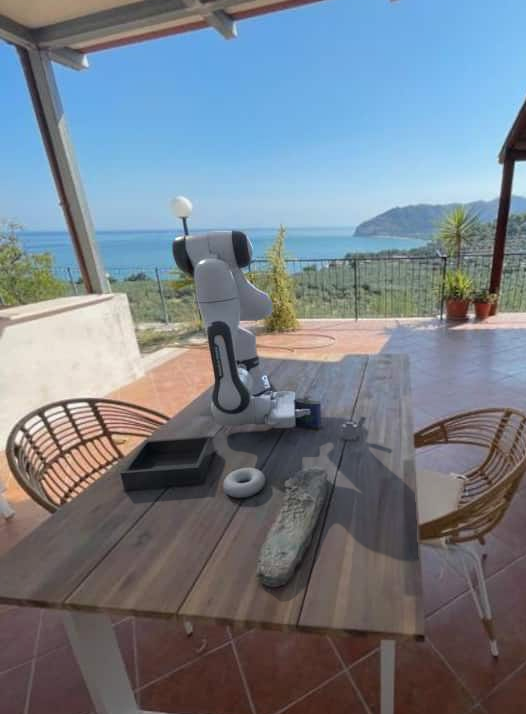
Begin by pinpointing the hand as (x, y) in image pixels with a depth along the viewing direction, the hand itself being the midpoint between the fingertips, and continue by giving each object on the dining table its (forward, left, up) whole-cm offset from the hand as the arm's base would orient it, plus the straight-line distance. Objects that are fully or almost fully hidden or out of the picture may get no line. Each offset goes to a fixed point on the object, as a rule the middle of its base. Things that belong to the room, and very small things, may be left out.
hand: (310, 407), depth 124 cm
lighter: (+10, +13, -7) cm, 18 cm away
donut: (+31, -17, -7) cm, 36 cm away
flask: (0, -1, -7) cm, 7 cm away
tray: (+20, -37, -7) cm, 43 cm away
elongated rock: (+45, -4, -7) cm, 46 cm away
